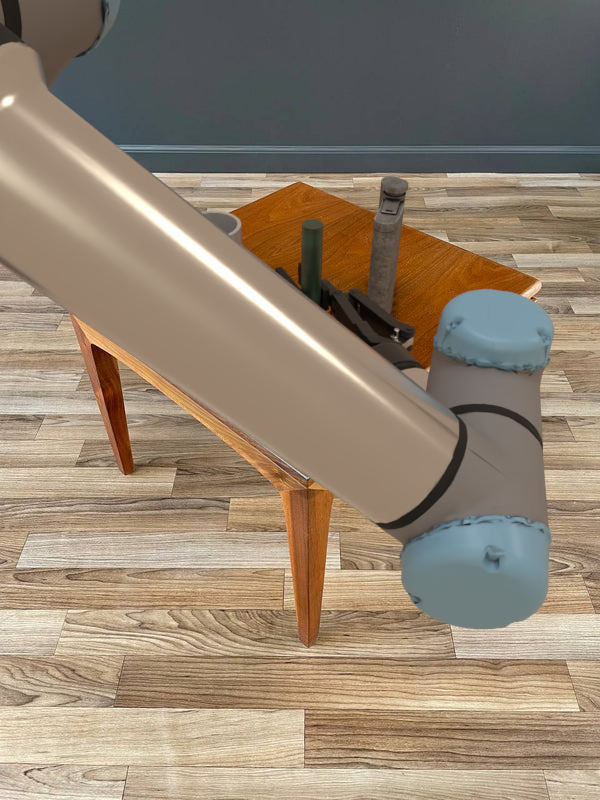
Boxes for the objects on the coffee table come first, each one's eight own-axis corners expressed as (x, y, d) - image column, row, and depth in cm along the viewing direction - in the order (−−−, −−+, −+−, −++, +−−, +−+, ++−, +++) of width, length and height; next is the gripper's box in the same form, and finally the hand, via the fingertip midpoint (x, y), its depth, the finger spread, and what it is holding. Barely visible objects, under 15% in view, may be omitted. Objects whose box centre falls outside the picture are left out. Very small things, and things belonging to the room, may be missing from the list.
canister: (180, 293, 94) (172, 238, 88) (192, 263, 100) (186, 209, 94) (239, 296, 93) (235, 240, 87) (248, 266, 100) (245, 212, 94)
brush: (287, 387, 76) (286, 233, 63) (291, 362, 80) (291, 212, 67) (327, 389, 76) (335, 236, 63) (329, 364, 80) (337, 214, 66)
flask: (396, 278, 98) (411, 160, 85) (390, 332, 87) (405, 207, 75) (372, 275, 98) (383, 158, 86) (363, 329, 87) (374, 205, 75)
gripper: (320, 451, 59) (230, 317, 75) (457, 404, 64) (345, 288, 79) (323, 389, 54) (226, 259, 69) (471, 344, 59) (349, 232, 74)
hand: (290, 275), depth 74 cm, fingers closed on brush, 2 cm apart
